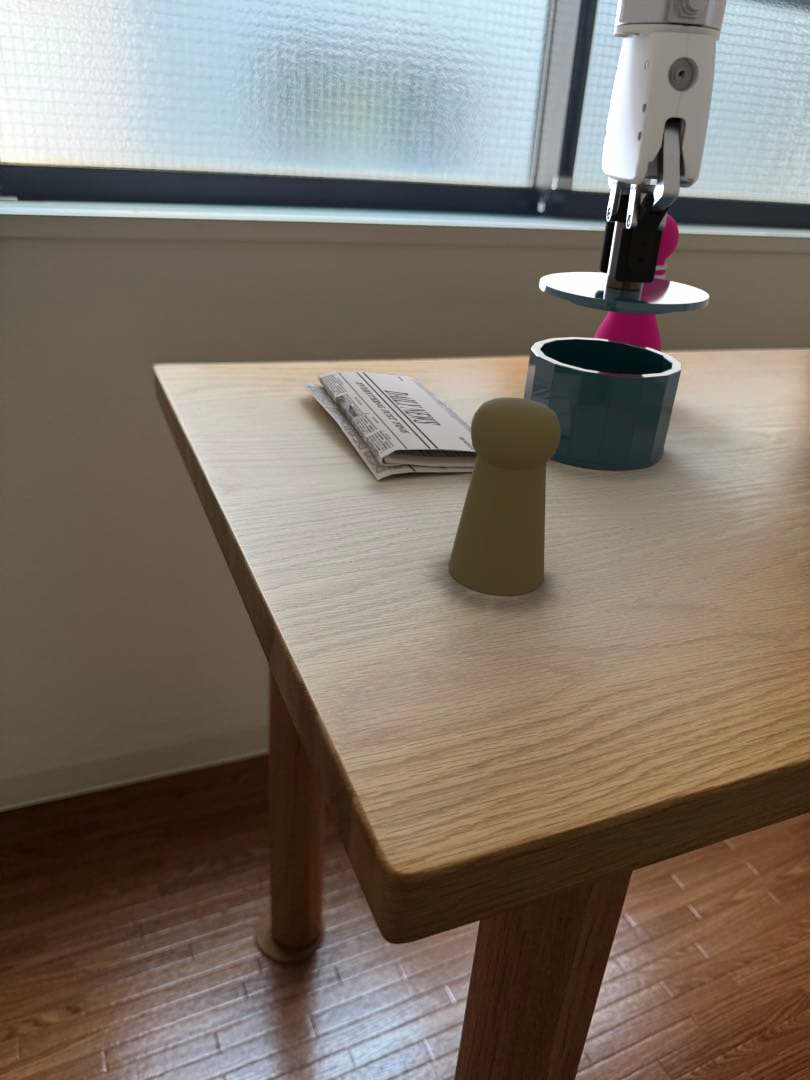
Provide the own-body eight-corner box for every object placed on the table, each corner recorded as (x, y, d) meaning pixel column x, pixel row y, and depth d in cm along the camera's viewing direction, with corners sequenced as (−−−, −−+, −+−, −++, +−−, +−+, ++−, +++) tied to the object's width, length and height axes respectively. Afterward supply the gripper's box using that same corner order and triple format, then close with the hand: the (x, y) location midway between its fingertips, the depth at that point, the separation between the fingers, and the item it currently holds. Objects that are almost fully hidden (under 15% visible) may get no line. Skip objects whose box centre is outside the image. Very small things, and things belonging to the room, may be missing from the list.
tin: (634, 423, 83) (651, 341, 79) (683, 473, 71) (705, 380, 68) (507, 417, 81) (518, 333, 78) (537, 467, 70) (551, 372, 66)
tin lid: (670, 289, 77) (684, 217, 75) (735, 323, 65) (754, 238, 62) (522, 282, 76) (531, 208, 73) (560, 316, 64) (573, 229, 61)
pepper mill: (593, 376, 97) (628, 187, 87) (657, 389, 94) (699, 195, 85) (576, 391, 91) (611, 190, 82) (643, 405, 88) (687, 198, 79)
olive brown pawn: (492, 540, 57) (513, 382, 52) (563, 576, 54) (593, 409, 49) (428, 565, 54) (444, 396, 49) (499, 606, 50) (525, 428, 45)
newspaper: (298, 391, 84) (301, 366, 83) (414, 400, 88) (418, 376, 87) (360, 479, 64) (365, 448, 63) (504, 485, 69) (511, 456, 68)
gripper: (772, 7, 55) (709, 299, 63) (677, 28, 69) (636, 263, 77) (659, -2, 54) (610, 295, 62) (587, 21, 68) (556, 259, 77)
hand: (625, 275), depth 70 cm, fingers closed on tin lid, 3 cm apart
